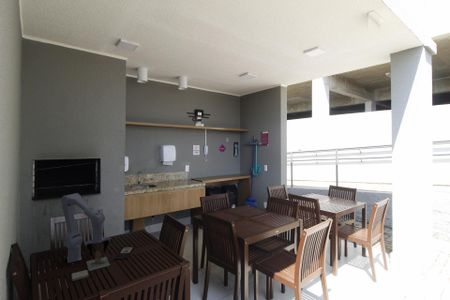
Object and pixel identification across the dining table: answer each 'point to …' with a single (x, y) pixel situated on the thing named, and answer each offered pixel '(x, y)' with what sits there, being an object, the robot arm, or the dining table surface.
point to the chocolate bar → (124, 253)
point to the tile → (79, 275)
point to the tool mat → (90, 267)
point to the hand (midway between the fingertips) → (97, 253)
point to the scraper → (98, 259)
